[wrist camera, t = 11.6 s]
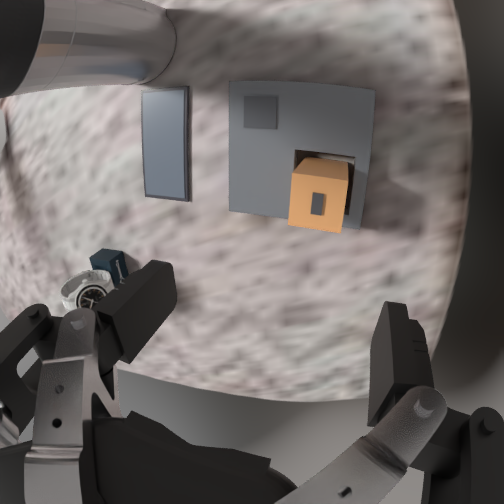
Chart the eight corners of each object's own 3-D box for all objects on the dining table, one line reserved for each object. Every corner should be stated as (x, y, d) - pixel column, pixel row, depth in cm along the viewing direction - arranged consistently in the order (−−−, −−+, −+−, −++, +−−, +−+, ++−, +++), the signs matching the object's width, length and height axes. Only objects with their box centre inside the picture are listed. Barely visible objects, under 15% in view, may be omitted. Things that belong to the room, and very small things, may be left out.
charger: (306, 156, 27) (291, 173, 20) (347, 162, 26) (348, 181, 19) (303, 195, 29) (287, 225, 22) (342, 201, 28) (340, 234, 21)
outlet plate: (236, 82, 26) (228, 80, 24) (373, 91, 22) (375, 90, 20) (235, 205, 32) (228, 211, 30) (359, 222, 28) (359, 230, 26)
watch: (140, 285, 42) (94, 330, 33) (103, 277, 44) (59, 315, 35) (132, 252, 40) (80, 293, 30) (95, 246, 42) (45, 282, 33)
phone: (149, 194, 35) (144, 196, 34) (146, 90, 29) (140, 90, 28) (191, 199, 34) (187, 201, 33) (191, 86, 27) (186, 86, 26)
